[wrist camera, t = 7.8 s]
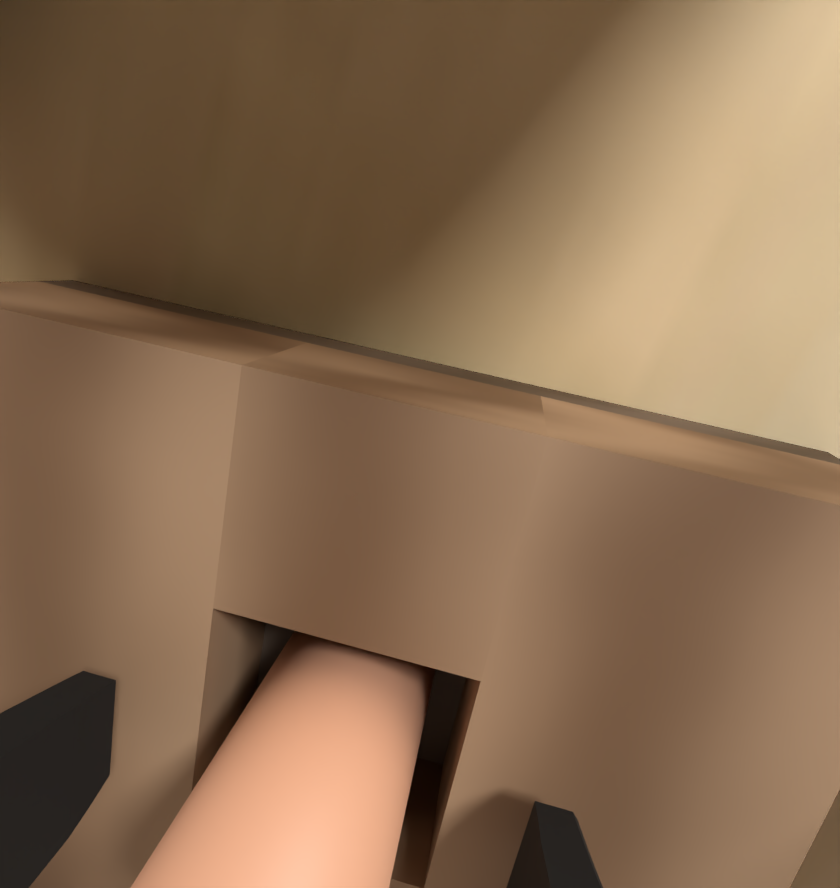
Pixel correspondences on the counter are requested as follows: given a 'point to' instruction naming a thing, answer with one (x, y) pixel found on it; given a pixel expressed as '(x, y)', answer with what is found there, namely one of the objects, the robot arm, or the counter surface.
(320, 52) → the counter surface
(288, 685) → the peg
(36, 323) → the socket board
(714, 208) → the counter surface
